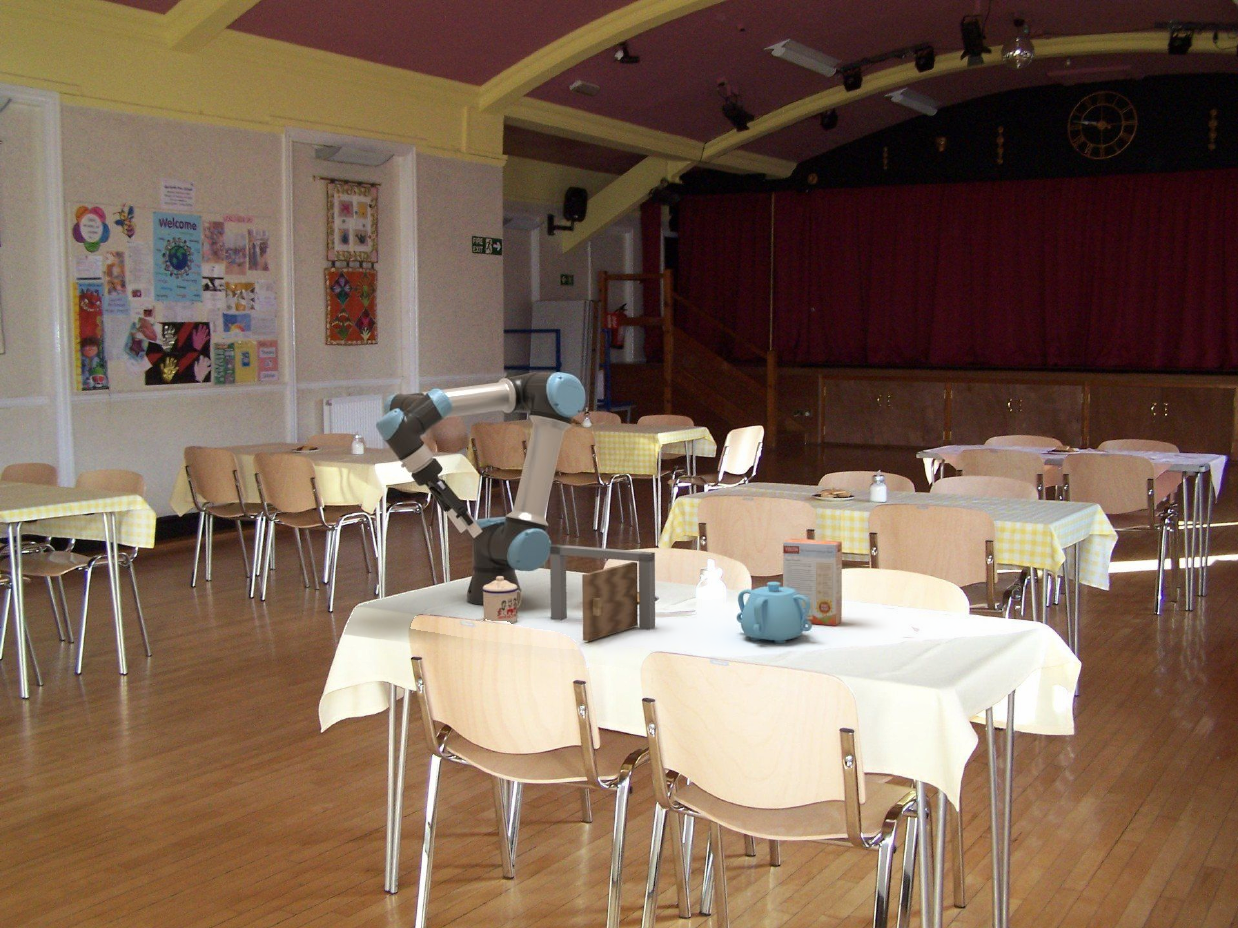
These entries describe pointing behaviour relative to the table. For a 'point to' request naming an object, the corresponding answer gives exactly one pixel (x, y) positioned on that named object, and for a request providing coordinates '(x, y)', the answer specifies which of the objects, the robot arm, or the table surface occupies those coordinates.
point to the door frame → (644, 558)
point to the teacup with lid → (501, 600)
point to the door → (609, 600)
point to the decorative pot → (773, 613)
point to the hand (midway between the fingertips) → (471, 532)
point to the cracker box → (815, 577)
